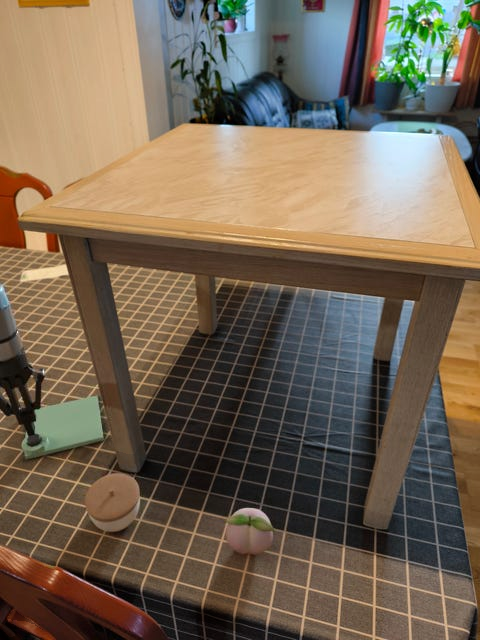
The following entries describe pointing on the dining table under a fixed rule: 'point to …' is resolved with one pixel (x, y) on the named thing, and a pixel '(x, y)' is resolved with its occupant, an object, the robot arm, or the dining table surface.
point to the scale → (65, 427)
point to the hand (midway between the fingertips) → (31, 431)
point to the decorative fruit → (249, 531)
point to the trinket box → (113, 502)
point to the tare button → (34, 440)
